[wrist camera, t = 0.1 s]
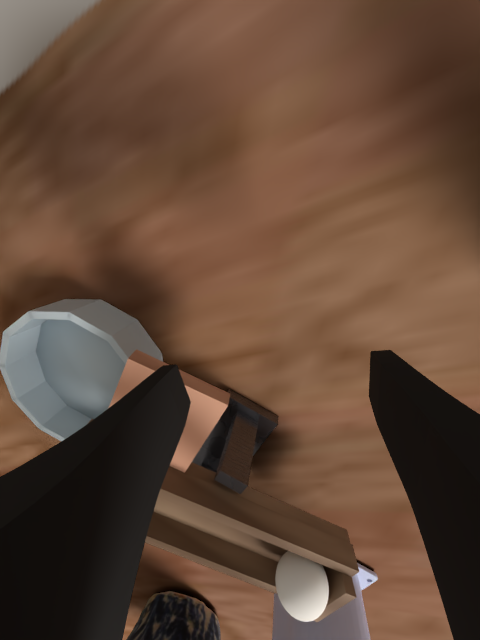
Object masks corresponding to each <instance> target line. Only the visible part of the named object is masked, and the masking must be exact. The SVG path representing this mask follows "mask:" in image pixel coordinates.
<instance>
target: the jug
mask: <svg viewBox="0 0 480 640" xmlns="http://www.w3.org/2000/svg"><path fill="white" fill-rule="evenodd" d="M127 640H220V625H219V621H218V618H217V616H216V615H215V614H214V613H213V612H212V610H210V609H209V608H208V607H206V606H205V604H204V602H202V601H199V600H198V599H196V598H193V597H190V596H187V595H184V594H180V593H176V592H172V591H168V592H162V593H157V594H154V595H153V596H152V597H151V598H149V600H148V602H147V604H146V606H145V607H144V609H143V610H142V613H141V615H140V618H139V620H138V622H137V623H136V625H135V627H134V629H133V630H132V632H131V633H130V635H129V636H128V638H127Z"/></svg>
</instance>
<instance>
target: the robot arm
mask: <svg viewBox="0 0 480 640" xmlns="http://www.w3.org/2000/svg"><path fill="white" fill-rule="evenodd" d="M369 398H370V402H371V405H372V409H373V412H374V416H375V419H376V422H377V425H378V427H379V430H380V432H381V435H382V437H383V439H384V442H385V444H386V446H387V449H388V451H389V453H390V456H391V458H392V460H393V463H394V465H395V467H396V470H397V472H398V474H399V477H400V479H401V481H402V484H403V486H404V488H405V491H406V493H407V495H408V498H409V501H410V503H411V506H412V508H413V511H414V514H415V517H416V520H417V523H418V526H419V529H420V532H421V535H422V538H423V541H424V544H425V548H426V551H427V554H428V557H429V560H430V563H431V566H432V570H433V573H434V576H435V579H436V582H437V586H438V589H439V592H440V595H441V598H442V602H443V605H444V608H445V612H446V615H447V618H448V622H449V625H450V628H451V632H452V635H453V638H454V640H480V414H478V413H477V412H475V411H474V410H472V409H470V408H469V407H467V406H466V405H464V404H463V403H461V402H460V401H458V400H457V399H455V398H454V397H453V396H451V395H450V394H448V393H447V392H445V391H444V390H443V389H441V388H440V387H438V386H437V385H436V384H434V383H433V382H432V381H430V380H429V379H427V378H426V377H425V376H423V375H422V374H421V373H420V372H418V371H417V370H416V369H414V368H413V367H412V366H410V365H409V364H408V363H407V362H405V361H404V360H403V359H401V358H400V357H399V356H398V355H396V354H395V353H394V352H392V351H391V350H384V351H371V358H370V383H369ZM190 404H191V401H190V398H189V396H188V393H187V390H186V388H185V385H184V382H183V379H182V377H181V374H180V371H179V369H178V366H177V365H163V366H162V367H160V368H159V369H157V370H156V371H155V372H153V373H152V374H151V375H150V376H148V377H147V378H146V379H145V380H143V381H142V382H141V383H140V384H138V385H137V386H136V387H135V388H134V389H132V390H131V391H130V392H129V393H127V394H126V395H125V396H124V397H122V398H121V399H120V400H119V401H117V402H116V403H115V404H114V405H112V406H111V407H110V408H108V409H107V410H106V411H104V412H103V413H102V414H100V415H99V416H98V417H96V418H95V419H94V420H92V421H91V422H90V423H88V424H87V425H85V426H84V427H83V428H81V429H80V430H78V431H77V432H75V433H74V434H72V435H71V436H69V437H68V438H66V439H65V440H63V441H62V442H60V443H58V444H57V445H55V446H54V447H52V448H50V449H49V450H47V451H45V452H43V453H42V454H40V455H38V456H37V457H35V458H33V459H32V460H30V461H28V462H27V463H25V464H23V465H21V466H20V467H18V468H16V469H14V470H12V471H10V472H9V473H7V474H5V475H3V476H1V477H0V640H122V638H123V633H124V629H125V624H126V619H127V614H128V609H129V605H130V600H131V596H132V592H133V587H134V583H135V579H136V575H137V571H138V567H139V562H140V558H141V555H142V551H143V547H144V543H145V540H146V536H147V532H148V529H149V525H150V522H151V518H152V515H153V511H154V508H155V505H156V501H157V498H158V495H159V492H160V489H161V486H162V483H163V481H164V478H165V476H166V473H167V471H168V468H169V466H170V463H171V461H172V458H173V456H174V453H175V451H176V448H177V446H178V443H179V441H180V438H181V435H182V433H183V430H184V427H185V424H186V421H187V417H188V413H189V408H190ZM357 564H358V568H359V572H358V573H357V574H355V575H354V576H353V577H352V580H353V584H354V588H355V593H356V597H357V598H355V599H353V600H352V601H350V602H349V603H347V604H346V605H344V606H342V607H341V608H339V609H338V610H336V611H335V612H333V613H331V614H330V615H328V616H327V617H325V618H324V619H322V620H321V621H319V622H315V621H309V622H304V621H300V620H297V619H295V618H294V617H292V616H291V615H290V614H289V613H288V612H287V611H286V610H285V608H284V607H283V605H282V603H281V601H280V599H279V597H278V594H275V593H274V611H273V633H272V640H370V635H369V629H368V624H367V619H366V614H365V608H364V603H363V598H362V593H361V590H363V589H364V588H366V587H368V586H369V585H371V584H372V583H374V582H375V581H377V579H378V578H377V574H376V573H375V572H373V571H371V570H370V569H368V568H366V567H364V566H362V565H361V564H359V563H357Z"/></svg>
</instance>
